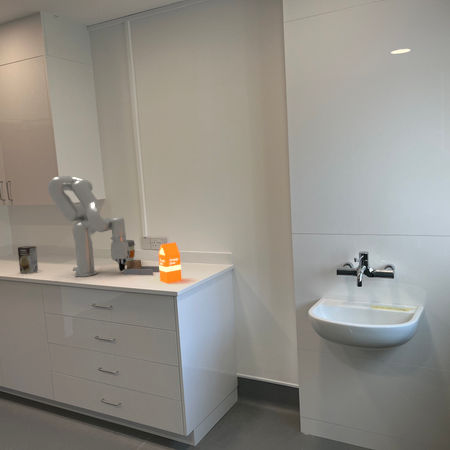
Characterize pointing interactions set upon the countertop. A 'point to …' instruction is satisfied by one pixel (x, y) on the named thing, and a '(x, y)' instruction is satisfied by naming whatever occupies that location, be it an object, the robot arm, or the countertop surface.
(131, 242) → the reusable coffee cup
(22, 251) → the coffee box
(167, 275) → the orange juice
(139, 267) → the block
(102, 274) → the countertop surface
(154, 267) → the chute
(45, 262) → the countertop surface
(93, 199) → the robot arm
